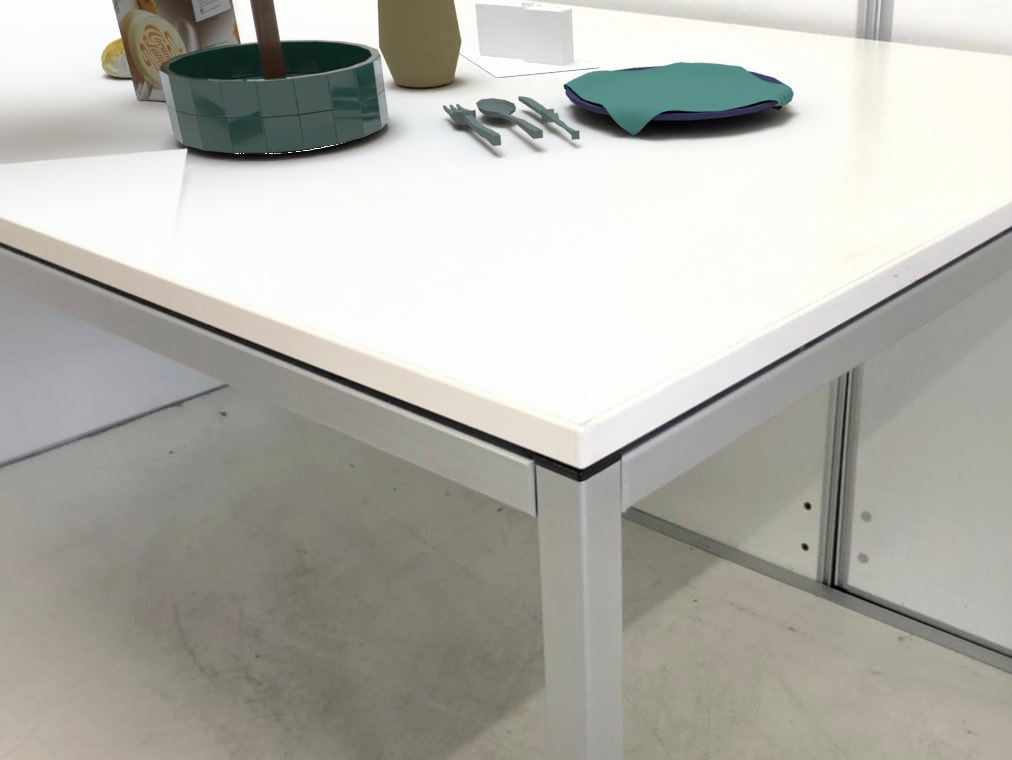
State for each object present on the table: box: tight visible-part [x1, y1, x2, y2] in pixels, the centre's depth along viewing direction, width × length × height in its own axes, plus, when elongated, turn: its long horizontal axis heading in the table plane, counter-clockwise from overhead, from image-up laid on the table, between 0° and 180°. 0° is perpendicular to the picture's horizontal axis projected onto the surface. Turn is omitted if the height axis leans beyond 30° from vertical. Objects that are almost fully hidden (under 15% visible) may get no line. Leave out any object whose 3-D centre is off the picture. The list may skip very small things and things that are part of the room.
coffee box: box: [111, 0, 242, 102], centre depth 103 cm, size 9×6×16 cm
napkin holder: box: [459, 0, 600, 78], centre depth 119 cm, size 15×11×6 cm
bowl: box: [159, 39, 390, 154], centre depth 93 cm, size 17×17×6 cm
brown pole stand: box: [249, 0, 286, 79], centre depth 90 cm, size 5×5×16 cm
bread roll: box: [100, 37, 132, 79], centre depth 117 cm, size 8×9×4 cm
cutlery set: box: [442, 61, 795, 147], centre depth 98 cm, size 20×30×2 cm, turn 113°
